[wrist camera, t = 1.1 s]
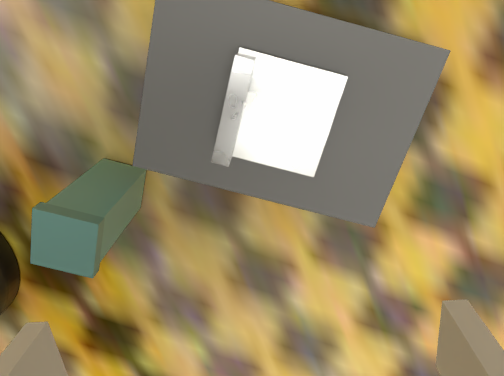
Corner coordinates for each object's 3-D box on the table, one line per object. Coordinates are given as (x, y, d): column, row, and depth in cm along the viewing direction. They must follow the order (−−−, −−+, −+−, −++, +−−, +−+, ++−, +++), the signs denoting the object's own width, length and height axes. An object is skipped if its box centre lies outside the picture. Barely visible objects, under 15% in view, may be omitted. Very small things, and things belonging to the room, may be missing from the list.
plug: (97, 198, 38) (30, 263, 27) (101, 155, 36) (32, 208, 26) (142, 209, 38) (92, 278, 28) (149, 167, 36) (98, 224, 26)
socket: (149, 149, 35) (132, 165, 31) (175, -23, 30) (159, -30, 26) (363, 204, 36) (374, 227, 32) (427, 46, 31) (450, 50, 26)
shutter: (217, 148, 30) (209, 165, 26) (240, 46, 27) (234, 50, 23) (312, 173, 30) (317, 193, 27) (345, 75, 27) (355, 83, 24)
